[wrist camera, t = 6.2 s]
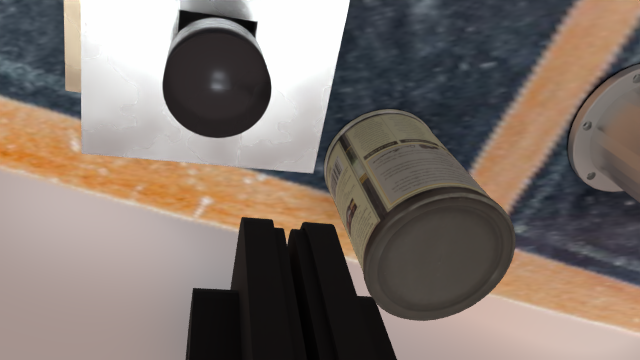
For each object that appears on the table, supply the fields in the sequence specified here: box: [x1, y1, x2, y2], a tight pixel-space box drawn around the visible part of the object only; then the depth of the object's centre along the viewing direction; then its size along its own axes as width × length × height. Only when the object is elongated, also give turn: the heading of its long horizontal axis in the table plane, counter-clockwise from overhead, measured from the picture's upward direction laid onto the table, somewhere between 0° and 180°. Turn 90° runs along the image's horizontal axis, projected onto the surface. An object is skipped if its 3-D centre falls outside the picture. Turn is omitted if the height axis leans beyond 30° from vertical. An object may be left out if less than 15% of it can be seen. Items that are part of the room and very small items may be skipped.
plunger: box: [162, 10, 272, 138], centre depth 25 cm, size 7×7×16 cm
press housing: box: [64, 0, 350, 173], centre depth 30 cm, size 18×18×18 cm
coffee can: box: [324, 109, 515, 321], centre depth 42 cm, size 10×10×14 cm
